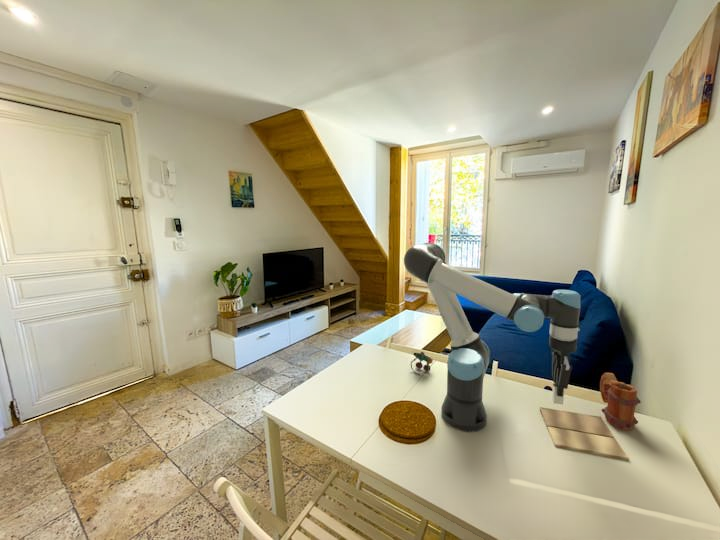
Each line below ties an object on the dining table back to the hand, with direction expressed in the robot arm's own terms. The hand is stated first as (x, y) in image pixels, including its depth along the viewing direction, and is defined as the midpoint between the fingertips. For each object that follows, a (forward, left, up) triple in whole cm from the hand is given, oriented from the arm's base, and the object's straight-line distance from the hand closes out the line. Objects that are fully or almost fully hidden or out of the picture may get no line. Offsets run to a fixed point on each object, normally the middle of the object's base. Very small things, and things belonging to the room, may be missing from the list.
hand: (557, 402), depth 99 cm
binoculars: (-48, +22, -7) cm, 53 cm away
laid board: (+5, -10, -7) cm, 13 cm away
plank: (+5, -1, -6) cm, 8 cm away
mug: (+19, +6, -7) cm, 21 cm away
